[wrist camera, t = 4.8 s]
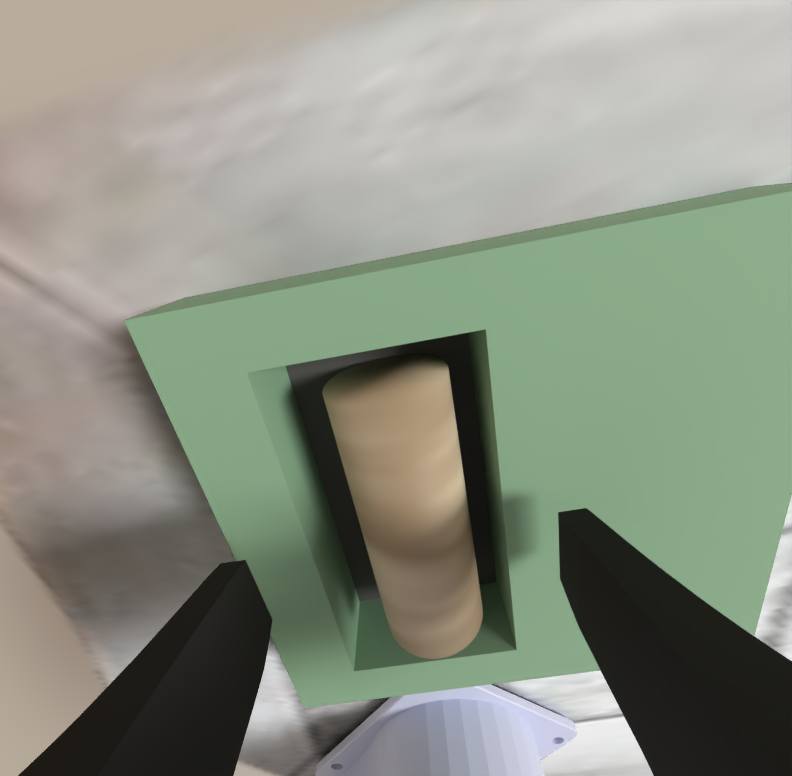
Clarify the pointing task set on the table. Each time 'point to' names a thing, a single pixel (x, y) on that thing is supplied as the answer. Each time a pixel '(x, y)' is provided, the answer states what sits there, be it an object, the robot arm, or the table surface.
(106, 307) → the table surface
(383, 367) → the roller
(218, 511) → the green slotted board
